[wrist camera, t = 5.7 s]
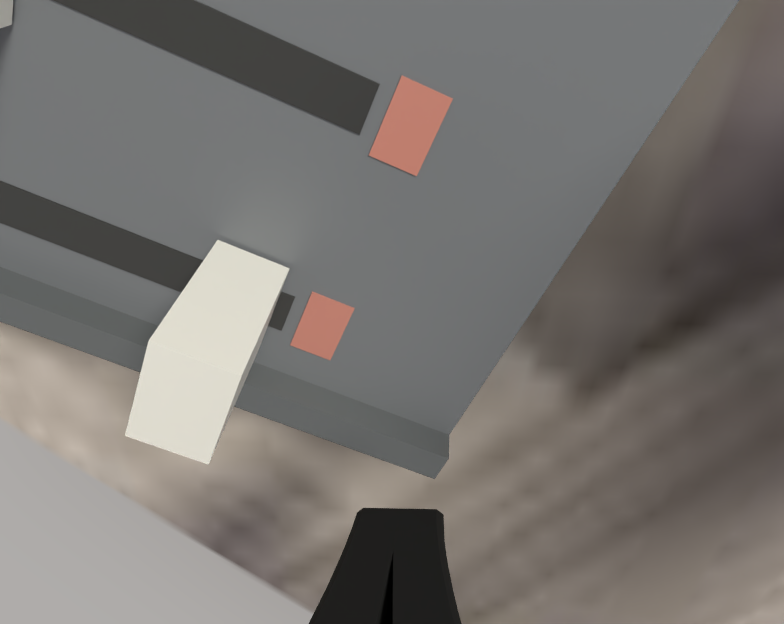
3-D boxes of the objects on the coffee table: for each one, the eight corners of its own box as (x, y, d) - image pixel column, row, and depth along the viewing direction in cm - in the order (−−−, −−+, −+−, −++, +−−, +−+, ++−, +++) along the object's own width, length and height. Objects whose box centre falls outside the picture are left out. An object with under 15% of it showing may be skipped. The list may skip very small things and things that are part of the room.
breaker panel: (867, -250, 9) (954, -277, 8) (437, 422, 18) (434, 479, 16) (-304, -958, 7) (-532, -1209, 6) (-178, 191, 15) (-257, 228, 14)
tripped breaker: (289, 268, 14) (242, 374, 11) (258, 349, 15) (208, 465, 12) (217, 239, 14) (148, 340, 11) (192, 324, 15) (125, 435, 12)
